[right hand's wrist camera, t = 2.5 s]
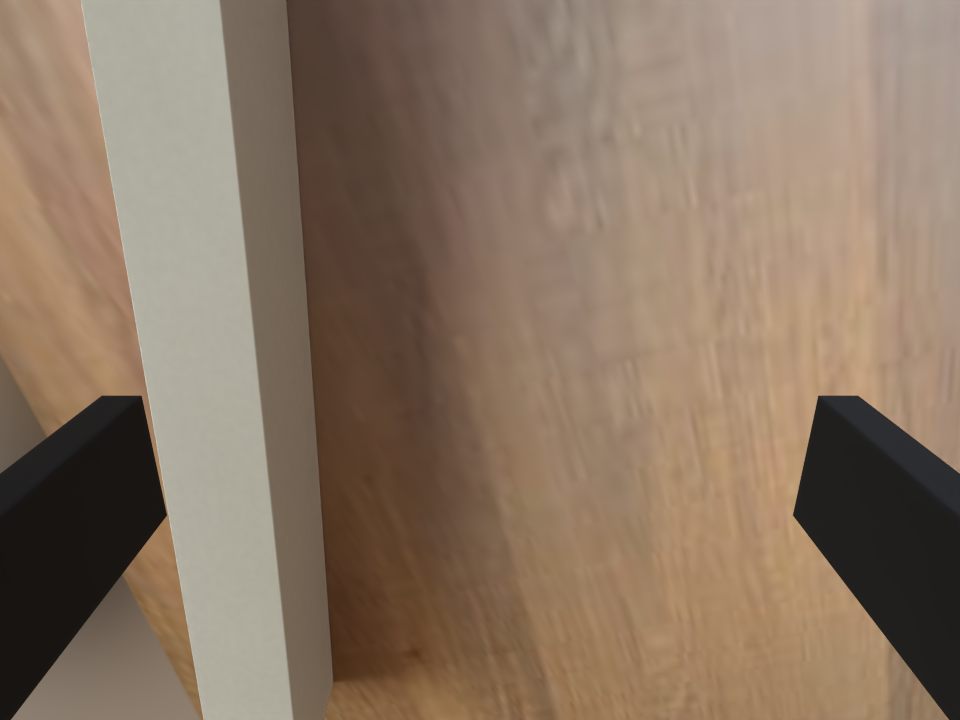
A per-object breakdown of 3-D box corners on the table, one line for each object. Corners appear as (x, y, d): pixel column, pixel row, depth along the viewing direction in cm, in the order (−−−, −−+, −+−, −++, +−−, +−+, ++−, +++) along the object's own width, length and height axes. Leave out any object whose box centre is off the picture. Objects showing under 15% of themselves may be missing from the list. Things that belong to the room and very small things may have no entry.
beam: (333, 682, 40) (302, 800, 33) (262, 680, 40) (216, 798, 33) (254, -473, 22) (145, -746, 15) (121, -477, 22) (-50, -753, 15)
